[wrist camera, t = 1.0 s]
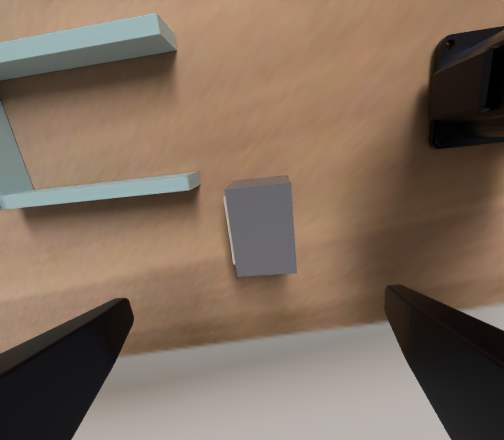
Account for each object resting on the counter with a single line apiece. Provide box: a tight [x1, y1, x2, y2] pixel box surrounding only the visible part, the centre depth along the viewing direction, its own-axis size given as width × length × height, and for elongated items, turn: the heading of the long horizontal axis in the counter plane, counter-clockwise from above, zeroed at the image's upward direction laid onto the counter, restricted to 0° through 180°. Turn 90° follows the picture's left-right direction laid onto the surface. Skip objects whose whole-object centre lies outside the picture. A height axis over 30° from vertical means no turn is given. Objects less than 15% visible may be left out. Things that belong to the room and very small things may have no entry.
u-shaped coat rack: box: [0, 13, 200, 210], centre depth 16 cm, size 15×10×3 cm, turn 97°
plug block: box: [223, 175, 297, 277], centre depth 17 cm, size 4×6×4 cm
